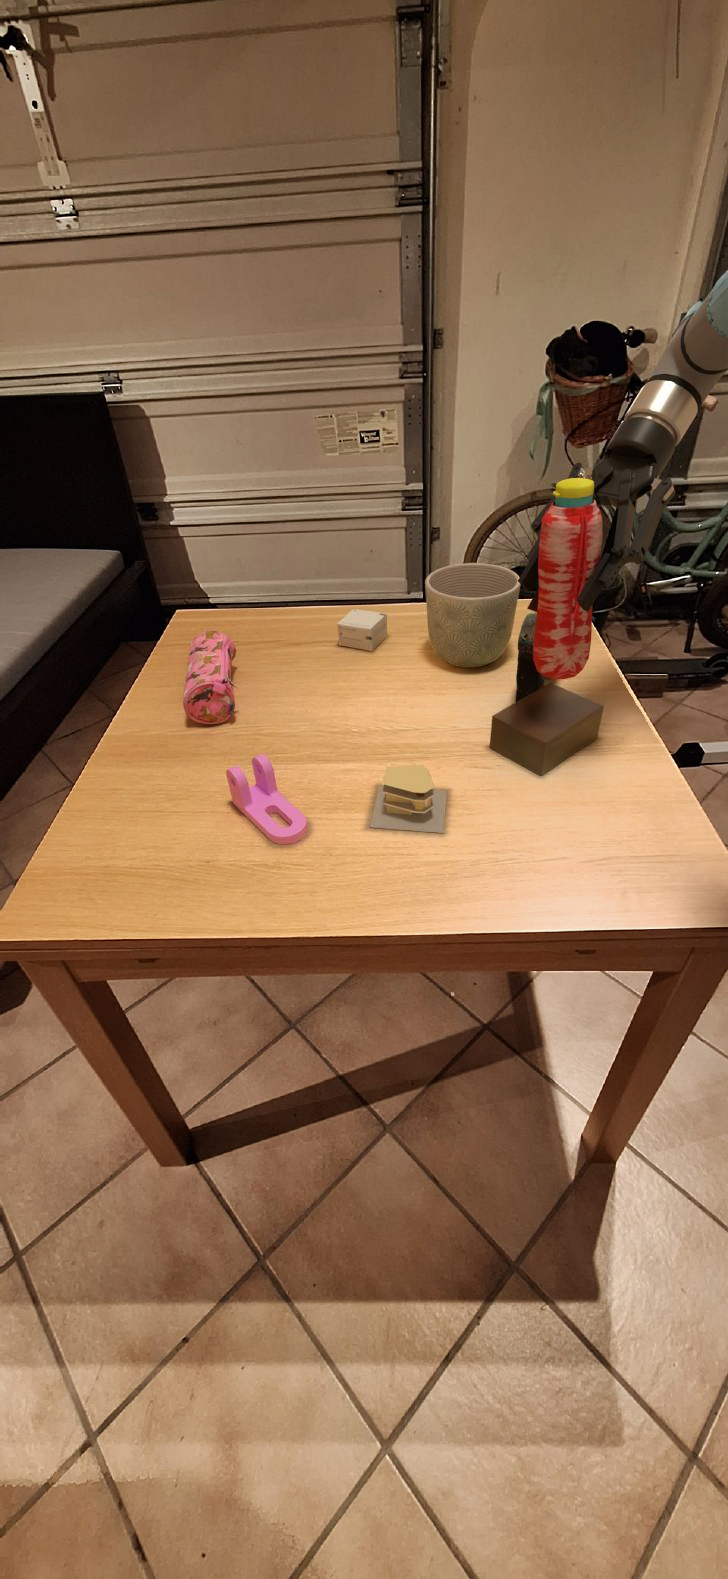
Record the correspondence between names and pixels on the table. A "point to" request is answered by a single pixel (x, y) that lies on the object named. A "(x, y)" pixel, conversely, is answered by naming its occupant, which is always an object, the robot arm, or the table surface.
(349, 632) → the small box
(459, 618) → the planter
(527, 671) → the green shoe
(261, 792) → the bracket
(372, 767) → the table surface
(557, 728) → the walnut stand
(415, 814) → the stacked layers on plate
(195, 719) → the pencil case
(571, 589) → the water bottle
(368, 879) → the table surface
